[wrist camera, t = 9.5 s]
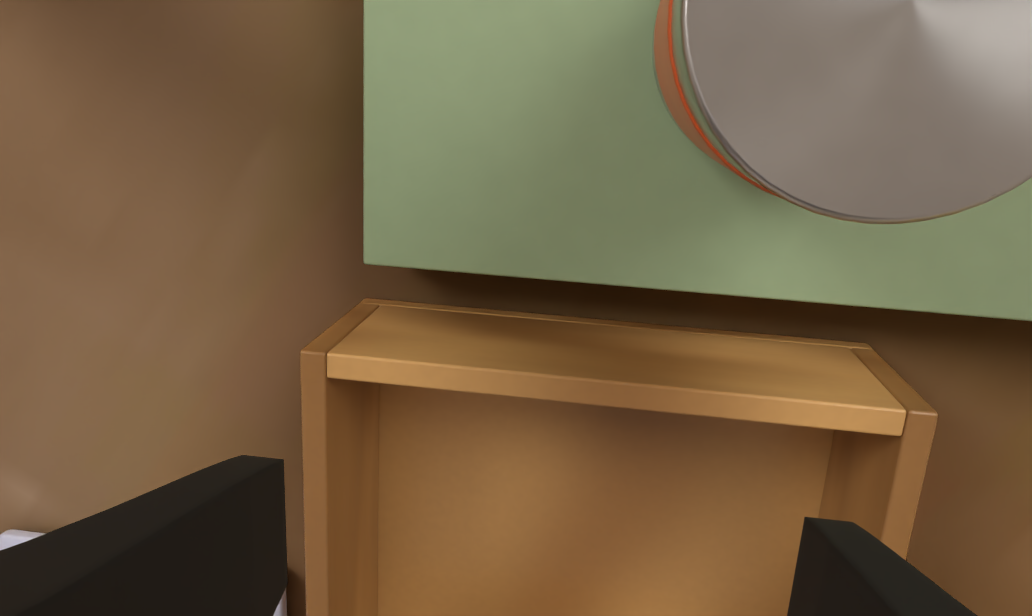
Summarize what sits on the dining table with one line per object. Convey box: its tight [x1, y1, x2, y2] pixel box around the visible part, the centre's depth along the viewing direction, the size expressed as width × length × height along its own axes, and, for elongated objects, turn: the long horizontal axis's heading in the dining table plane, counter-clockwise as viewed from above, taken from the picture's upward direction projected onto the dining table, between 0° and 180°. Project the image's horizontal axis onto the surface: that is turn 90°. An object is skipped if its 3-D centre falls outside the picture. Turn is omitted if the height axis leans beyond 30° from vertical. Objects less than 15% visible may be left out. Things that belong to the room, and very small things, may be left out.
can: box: [652, 0, 1032, 224], centre depth 12 cm, size 5×5×8 cm
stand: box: [363, 0, 1032, 321], centre depth 17 cm, size 20×11×2 cm, turn 87°
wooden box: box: [300, 298, 938, 616], centre depth 19 cm, size 13×11×4 cm
